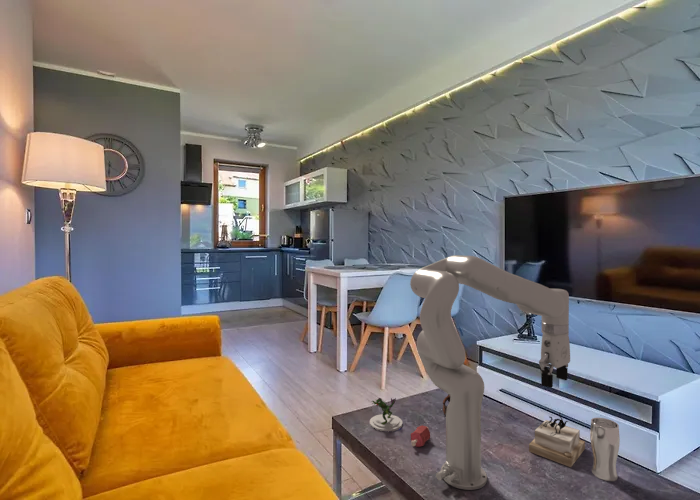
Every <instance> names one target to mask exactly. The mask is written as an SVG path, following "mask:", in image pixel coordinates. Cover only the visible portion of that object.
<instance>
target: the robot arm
mask: <svg viewBox="0 0 700 500" xmlns="http://www.w3.org/2000/svg"><path fill="white" fill-rule="evenodd" d="M409 285H410V289H411V290H412V292H413V293H414V295H416V296H418V297H420V298H423V299H424V300H423V303H422V306H421V308H420V313H419V322H420V327H421V329H422V330H421V331H420V332H419V334H418V336H417V337H416V350H417V353H418V356H419V359H420V360H421V363H422V365H423V367H424V368H425V371H426V373H427V375H428V377H429V379H430V381H431V382H432V384H433V385H434V386H436V387H437V388H438V389H440V390H441V391H442V392H444V393H446V394H447V395H448V394H449V395H450V402H448V405H446V406H447V409H446V414H445V458H446V459H445V462H444V463H443V464H442V465H441V468H440V471H438V472H436V473H435V478H436V479H437V480H438V481H440V482H441V481H442V480H443V481H444V482H445V483H447V484H448V485H450V486H451V487H453V488H456V489H460V490H465V491H475V490H479V489H481V488H483V487H484V486H485V485H486V484H487V482H488V476H487V472H486V471H485V470H484V468H482V427H481V426H482V425H481V423H482V422H481V421H482V418H481V417H482V404H483V398H484V393H485V383H484V379H483V377H482V376H481V375H480V374H479V372H478V371H476V370H475V369H473V368H471V367H470V366H468V365H465V364H464V363H465V360H466V350H465V345H464V344H463V343H462V340H461V337H460V335H459V333H458V331H457V329H456V326H455V324H454V321H453V319H452V309H453V306H454V303H455V302H456V301H455V300H456V299H457V297H458V295H459V291H460V285H465V286H467V287H470V288H472V289H474V290H476V291H479V292H481V293H483V294H485V295H488V296H489V297H491V298H492V299H493V298H494V299H496V300H499V301H501V302H506V303H509V304H514V305H516V306H517V308H518V309H519V310H520V311H522V312H524V313H527V314H531V315H537V316H541V329H540V330H541V333H542V336H541V346H540V347H541V348H540V360H539V362H538V364H539V369H540V373H541V375H540V377H541V380H540V381H541V382H540V384H541V386H543V387H547V388H550V389H551V388H553V387H554V386H553V384H554V383H553V382H554V380H553V378H554V375H553V374H552V372H553V370H554V368H555V369H556V373H555V374H556V375H555V377H556V378H557V379H558V380H562V381H567V380H568V367H569V364H570V362H571V346H570V336H569V334H570V333H569V332H570V328H569V327H570V325H569V323H570V319H569V317H570V314H569V313H570V296H569V292H568V291H567V290H566V289H562V288H549V287H548V286H545V285H543V284H541V283H538V282H535V281H533V280H529V279H527V278H525V277H522V276H519V275H516V274H513V273H511V272H508V271H507V270H504V269H502V268H500V267H498V266H496V265H494V264H492V263H490V262H488V261H486V260H484V259H483V258H480V257H478V256H475V255H460V254H455V255H449V256H447V257H445V258H442V259H440V260H438V261H435V262H433V263H431V264H428V265H426V266H423V267H421V268H419V269H417V270H416V271H415V272H414V273H413V274H412V276H411V279H410V283H409Z"/></svg>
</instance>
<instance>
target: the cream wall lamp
mask: <svg viewBox="0 0 700 500" xmlns="http://www.w3.org/2000/svg"><path fill="white" fill-rule="evenodd" d="M549 421H550V420H548V419H545V420H544V421H543V422H542V423H541V424H540V425H539V426H538V427H537V428H536V429H535V430H534V439H532V441H531V442H529V443H528V452H530V453H532V454H535V455H538V456H541V457H543V458H545V459H547V460H551V461H553V462H555V463H558V464H560V465H564V466H566V467H569V468H572V467H573V465H574V464H575V463H576V462H577V461H578V459H579V458H580V457H581V455H582V453H583V452H585V450H586V440H585V441H584V440H582V439H581V438H580V437H581V434H580V429H577V428H574V427H570V426H567V425H566V426H565V427H564V428H562V429H561V430H560V427H559V425H558V423H559V422H556V423H557V425H558V426H557V427H556V429H557V433H556V429H555V426H556V424H555V426H554V427H551V426H550V424H551V423H550V424H547V423H548V422H549ZM545 422H547V423H546V424H547V427H544V426H543V425H542V424H544V425H545ZM551 422H552V423H553V422H554V421H553V420H552V421H551ZM541 425H542V426H543V427H542V426H541ZM540 426H541V427H542V428H541V427H540ZM545 426H546V425H545ZM548 427H549V428H548ZM559 430H560V433H559ZM552 432H553V433H552ZM551 433H552V434H551ZM550 434H551V435H554V434H556V435H554V436H551V435H550Z"/></svg>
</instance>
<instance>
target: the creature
mask: <svg viewBox="0 0 700 500" xmlns="http://www.w3.org/2000/svg"><path fill="white" fill-rule="evenodd" d="M558 415H559V418H555V419H554V418H553V417H552V416H549V419H550V420H548V421H549V422H548V423H547V422H545V425H546V426H545V425H544V424H542V423H541V424H542V425H543V426H544V427H547V424H550V423H551V424H550V426H551V427H554V426H555V424H556V426H555V429H556V427H557V426H558V425H559V427H560V430H561V429H562V428H564V427H565V426H567V423H568V422H569V421H568V420H566V421H564V420H563V418H562V416H561V415H562V414H561V412H558ZM551 421H552V422H553V423H552V422H551ZM557 421H558V422H557ZM546 423H547V424H546ZM557 423H558V425H557ZM541 424H540V425H541ZM540 425H539V426H540ZM542 425H541V426H542ZM541 426H540V427H541ZM543 426H542V427H543ZM542 427H541V428H542ZM548 428H549V427H548ZM560 430H559V433H560ZM552 433H553V432H552ZM552 433H551V434H552ZM556 433H557V429H556ZM551 434H550V435H551ZM554 435H556V434H554ZM554 435H551V436H554Z"/></svg>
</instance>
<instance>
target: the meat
mask: <svg viewBox="0 0 700 500" xmlns="http://www.w3.org/2000/svg"><path fill="white" fill-rule="evenodd" d="M428 440H431V432H430V428H429V427H428V426H426V425H419V426H417V427H416V429H415V430H414V431H413V432H411V433H410V442H411V443H410V444H411V446H412V447H417V448H420V447H423V446H425V444H426V442H427V441H428Z"/></svg>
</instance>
